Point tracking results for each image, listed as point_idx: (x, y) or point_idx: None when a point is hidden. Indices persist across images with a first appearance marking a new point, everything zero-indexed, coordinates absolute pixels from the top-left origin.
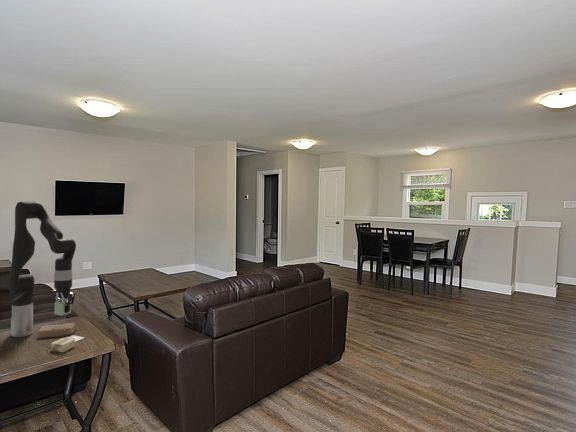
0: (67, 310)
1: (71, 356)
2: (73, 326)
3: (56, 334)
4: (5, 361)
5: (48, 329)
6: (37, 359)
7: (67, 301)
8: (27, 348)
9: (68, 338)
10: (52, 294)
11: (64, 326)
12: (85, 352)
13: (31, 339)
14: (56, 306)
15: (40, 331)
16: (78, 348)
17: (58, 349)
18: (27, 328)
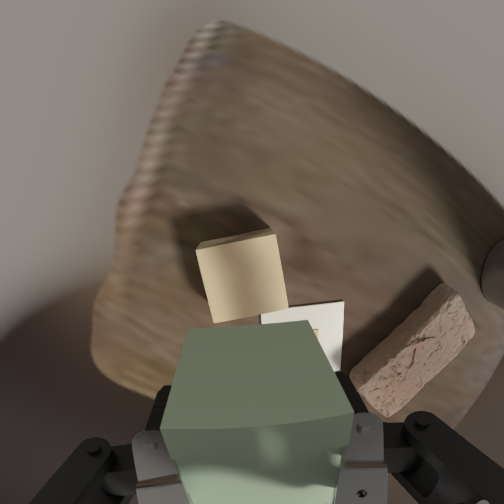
0: (157, 397)
1: (124, 233)
2: (365, 399)
3: (396, 334)
4: (334, 74)
5: (436, 326)
6: (230, 139)
7: (216, 499)
8: (387, 193)
9: (322, 343)
10: (494, 481)
11: (401, 379)
12: (113, 288)
13: (448, 260)
14: (293, 380)
15: (450, 297)
16: (178, 301)
17: (225, 238)
18: (500, 281)
